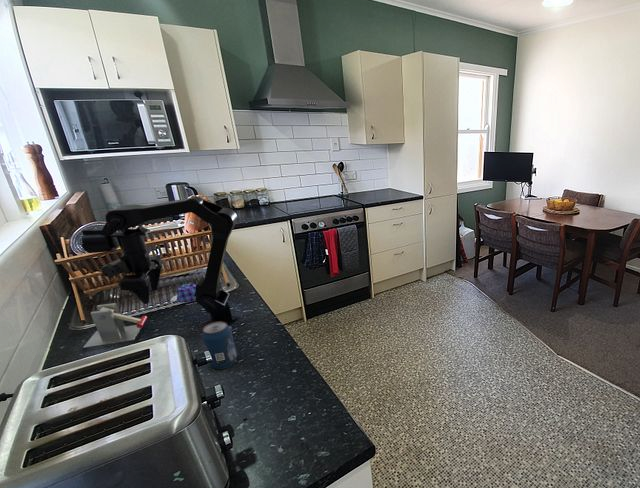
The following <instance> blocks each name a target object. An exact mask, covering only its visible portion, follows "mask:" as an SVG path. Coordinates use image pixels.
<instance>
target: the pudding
mask: <svg viewBox="0 0 640 488" xmlns="http://www.w3.org/2000/svg"><path fill="white" fill-rule="evenodd" d="M195 293H196V284H195V283H185V284H182V285H180V286H179V287H178V288H177V289H176V295H174V296H172V297H171V299H170V303H171V304H172V305H175V306H176V304H175V303H173V302H172V301H178V303H187V306H188V305H190V303H191V302H195V304H198V303H197V302H196V296H195V297H194V294H195ZM188 303H189V304H188Z"/></svg>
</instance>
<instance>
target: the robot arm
mask: <svg viewBox="0 0 640 488" xmlns="http://www.w3.org/2000/svg"><path fill="white" fill-rule="evenodd" d="M188 213H191V214H193V215H195V216H197V217H198V218H200V219H201V220H202V221H204V222H205V223H207V224H209V225H210V228H211V229H210V230H211V236H212V241H211V246H210V249H209V250H210V251H209V255H208V261H207V266H206V271H205V275H204V277H200V278H199V280H198V281H197V282H196V284H195V285H196V293H195V294H194V297H195V296H196V300H195V303H196V302H197V303H196V304H198V305H199V306H201V307H202V308H203V309H204V310H205V312H206V313H207V314H209V316H210V320H211V323H212V322H217V321H223V322H226V323H227V325H228V326H229V324H231V323H233V322H235V321H236V320H237V319H238V318H237V317H236V316H233V315H232V312H231V306H230V305H229V302H228V301H229V300H230V295H231V293H230V292H228V291H226V290H224V289H223V288H222V281H221V273H222V269H223V265H224V259H225V257H226V256H225V255H226V251H227V246H228V242H229V238H230V236H231V234H232V232H233V230H234V228H235V226H236V224H237V221H238V215H237V213H236V212H235V210H233V209H231V208H229V207H223V206H222V205H220V204H217V203H214V202H211V201H209V200H206V199H204V198H203V197H200V196H197V195H193V196H190V197H187V198H180V199H175V200H169V201H164V202H159V203H153V204H148V205H147V204H146V205H145V204H144V205H143V204H122V205H119V206H117V207H115V208H113V209H111V210H109V211H107V212H106V214H105V221H106V222H105V224H104V225H103V228H92V227H91V228H85V229H83V230H81V232H82V237H81V247H82V249H83V251H84V252H86V253H88V254H98V253H112V252H116V251H117V250H118V248H120V250H121V253H122V255H121V256H120V257H119V258H118V259H116V260H113V261H112V262H109V263H107V264H106V265H103V266H102V267H100V272H101V276H102V277H105V278H108V279H113V278H114V277H116V276H118V275H120V274H122V273H124V276H123V277H122V278H121V279H120V280H119V282H118V283H117V286H118V288H119V291H125V292H128V291H129V292H132V293H133V294H134V295H135V296H136V297H137V298H138V299H139V300H140V301H141V302H142V303H143V304H144V305H149V303H150V299H151V298H150V296H151V290H152V291H157V290H158V288H159V282H160V279H161V273H162V269H163V265H164V261H163V258H162V257H161V256H159V255H151V256H150V254H151V253H152V252H151V248H148V247H147V245H146V241H145V239H144V236H146V235H148V234H149V233H150V232H151V230H150V229H149V228H147V227H144V226H143V225H141V224H143V223H146V222H148V221H153V220H159V219H164V218H169V217H174V216H179V215H184V214H188ZM136 226H137V227H136ZM134 227H136V228H134Z"/></svg>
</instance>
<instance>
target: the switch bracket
mask: <svg viewBox="0 0 640 488" xmlns="http://www.w3.org/2000/svg"><path fill="white" fill-rule="evenodd" d="M102 307H105V308H110V310H103V311H100V309H101V308H102ZM96 309H97V310H96V311H91V312H90V316H91V318H92V321H93V323H94V325H95V327H96V331H95V332H94V333H93V334H92V336H91V337H90V338H89V339H88V340H87V342H85V344H84V346H83V347H82V348H83V350H84V349H91V348H98V347H103V346H104V347H105V346H111V345H117V344H122V343H130V342H134V341H135V340H136V338H137V337H138V335H139V334H140V332H141V330H142V329H143V327H144V325H143V326H142V327H141V328H138V327H137V324H133V325H127V326H126V325H125V322H124V320H122V319H117V318H114V316H113V314H112V311H111V309H114V312H113V313H117V314H121V312H120V310H119V307H118V304H117V303H116V302H113V303H103V304H98V305H97V306H96Z"/></svg>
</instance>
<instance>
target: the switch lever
mask: <svg viewBox="0 0 640 488" xmlns="http://www.w3.org/2000/svg"><path fill="white" fill-rule="evenodd" d="M103 310H110V308H105V307H102V308H101V309H100V311H103ZM111 311H112V314H113V316H114V318H117V319H122V320H123V321H126V322H131V323H134V324H136V325H137V327H138V328H141V327H142V326H143V327H144V325H145V323H146V321H147V320H148V316H147V315H142V316H141V318H139V317H133V316H129V315H126V314H122V313H120V314H117V313H113V312H114V309H111ZM143 327H142V328H143Z"/></svg>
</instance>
